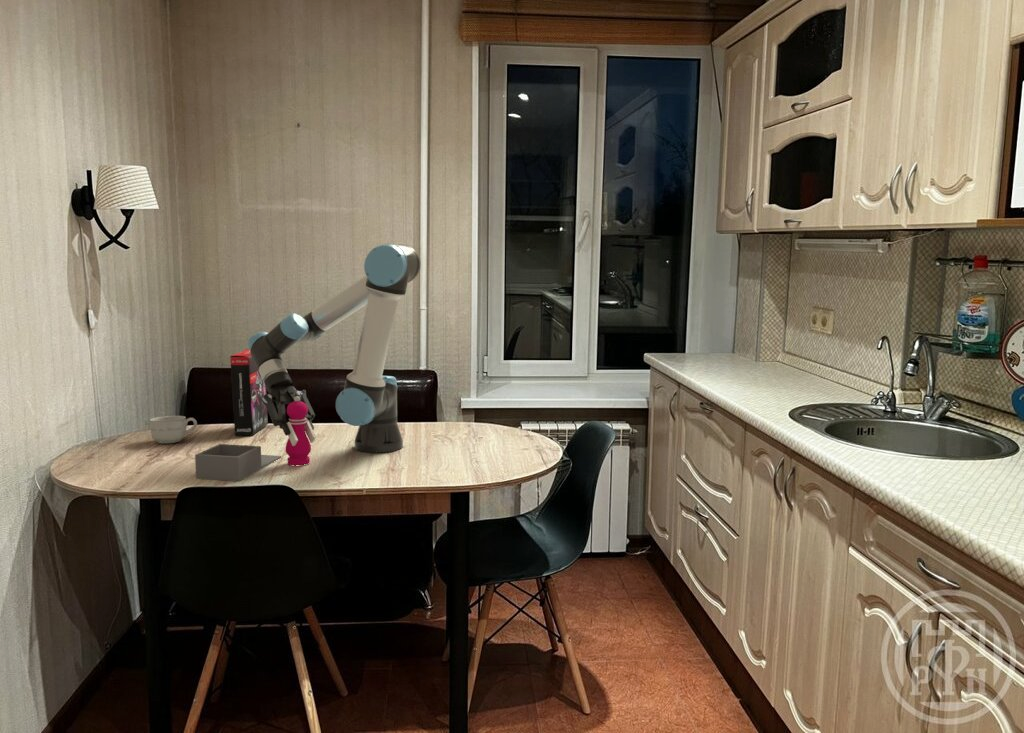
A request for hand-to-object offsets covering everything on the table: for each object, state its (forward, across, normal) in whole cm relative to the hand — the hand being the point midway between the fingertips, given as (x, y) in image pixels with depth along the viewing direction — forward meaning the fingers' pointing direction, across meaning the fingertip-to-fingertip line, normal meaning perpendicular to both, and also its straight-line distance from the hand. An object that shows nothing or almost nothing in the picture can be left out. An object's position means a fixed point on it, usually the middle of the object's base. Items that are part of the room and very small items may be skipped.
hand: (304, 441), depth 232 cm
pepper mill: (+3, 0, -8) cm, 8 cm away
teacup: (-32, +17, -43) cm, 57 cm away
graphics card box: (-32, -8, -42) cm, 54 cm away
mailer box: (-2, +15, -12) cm, 19 cm away
